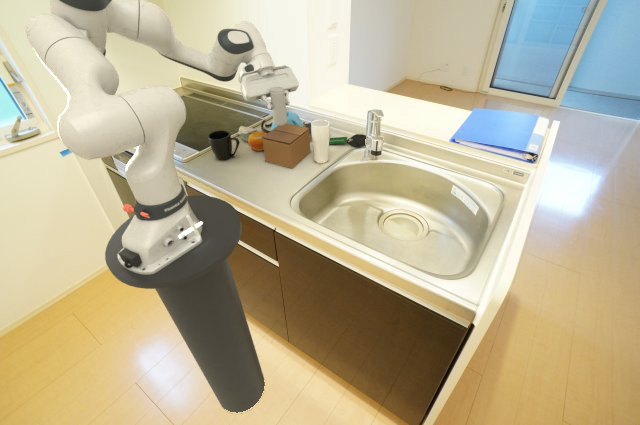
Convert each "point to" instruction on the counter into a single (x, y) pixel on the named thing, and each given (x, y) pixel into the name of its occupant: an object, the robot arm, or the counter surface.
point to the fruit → (256, 140)
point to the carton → (288, 147)
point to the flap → (281, 136)
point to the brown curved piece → (265, 125)
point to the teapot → (291, 119)
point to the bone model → (304, 126)
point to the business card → (338, 140)
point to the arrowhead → (246, 130)
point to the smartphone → (308, 127)
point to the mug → (222, 144)
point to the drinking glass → (320, 140)
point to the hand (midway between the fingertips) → (279, 106)
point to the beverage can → (278, 106)
